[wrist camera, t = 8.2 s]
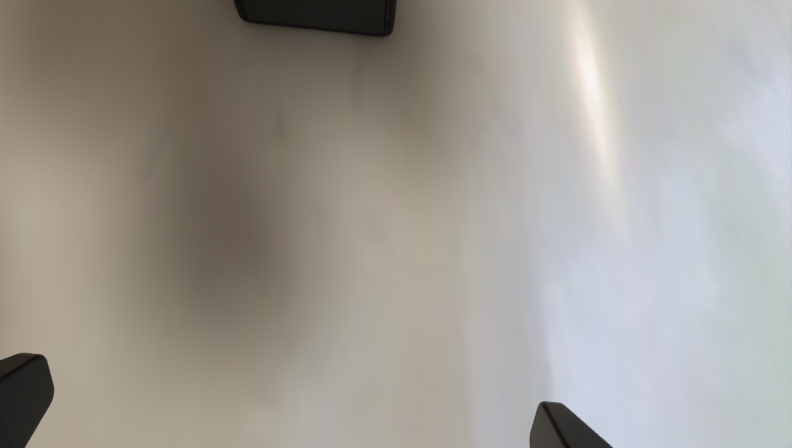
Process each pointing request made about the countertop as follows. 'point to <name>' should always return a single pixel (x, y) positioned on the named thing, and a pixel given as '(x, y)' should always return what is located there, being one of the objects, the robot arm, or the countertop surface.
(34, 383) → the robot arm
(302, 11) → the battery
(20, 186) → the countertop surface
